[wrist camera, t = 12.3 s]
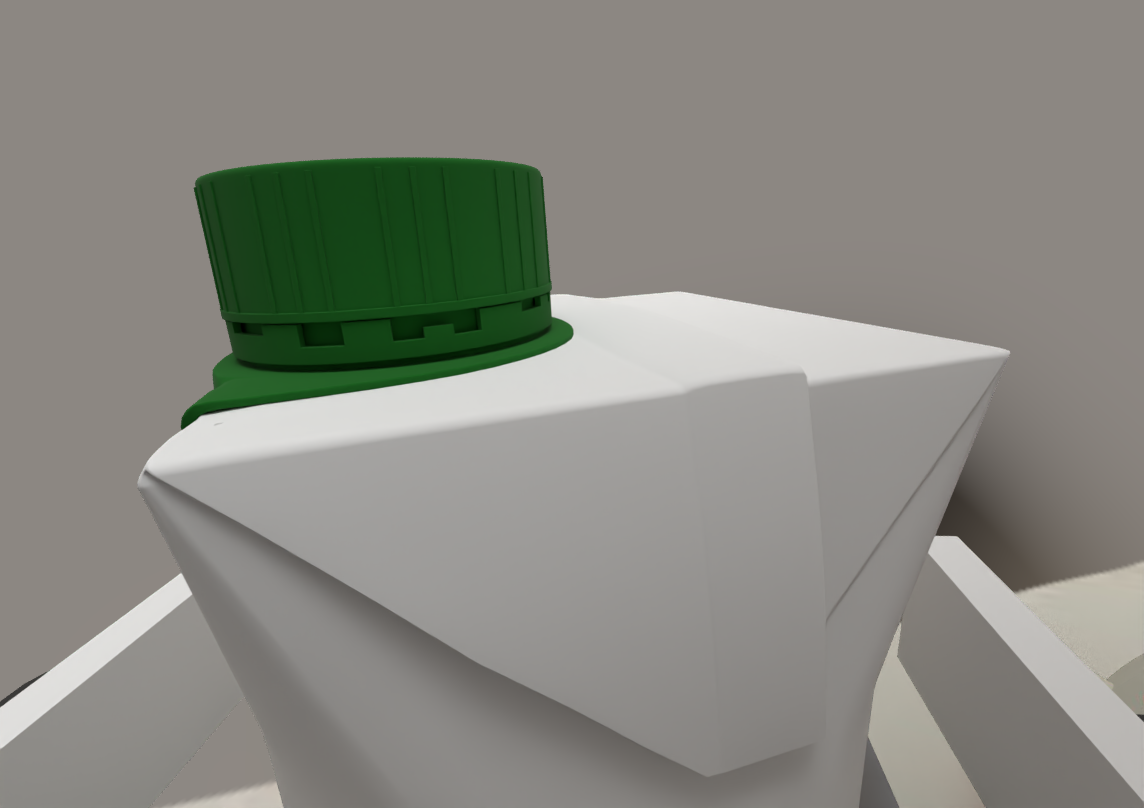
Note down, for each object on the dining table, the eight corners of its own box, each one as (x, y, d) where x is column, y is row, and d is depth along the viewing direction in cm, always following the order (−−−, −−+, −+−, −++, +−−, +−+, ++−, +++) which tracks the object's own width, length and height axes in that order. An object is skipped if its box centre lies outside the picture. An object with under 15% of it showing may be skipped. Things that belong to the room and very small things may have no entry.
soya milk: (405, 946, 16) (253, 207, 11) (691, 841, 19) (695, 189, 13) (412, 1642, 8) (-233, 89, 2) (918, 1303, 11) (1207, 100, 5)
